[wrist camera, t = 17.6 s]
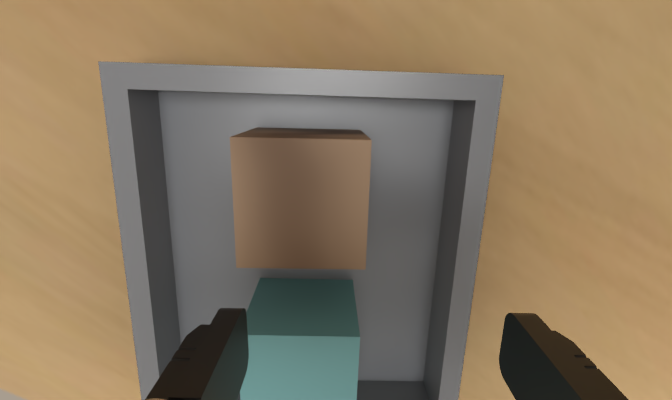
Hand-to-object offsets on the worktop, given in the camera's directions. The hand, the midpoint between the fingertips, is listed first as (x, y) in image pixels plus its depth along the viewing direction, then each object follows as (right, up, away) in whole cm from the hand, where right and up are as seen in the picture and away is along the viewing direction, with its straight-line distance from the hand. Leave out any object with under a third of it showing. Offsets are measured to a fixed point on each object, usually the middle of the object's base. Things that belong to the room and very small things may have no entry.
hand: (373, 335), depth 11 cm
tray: (-3, +2, +9) cm, 9 cm away
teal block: (-3, -3, +9) cm, 10 cm away
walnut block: (-3, +5, +7) cm, 9 cm away
